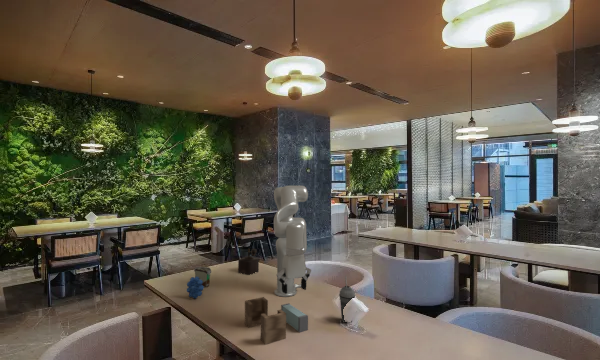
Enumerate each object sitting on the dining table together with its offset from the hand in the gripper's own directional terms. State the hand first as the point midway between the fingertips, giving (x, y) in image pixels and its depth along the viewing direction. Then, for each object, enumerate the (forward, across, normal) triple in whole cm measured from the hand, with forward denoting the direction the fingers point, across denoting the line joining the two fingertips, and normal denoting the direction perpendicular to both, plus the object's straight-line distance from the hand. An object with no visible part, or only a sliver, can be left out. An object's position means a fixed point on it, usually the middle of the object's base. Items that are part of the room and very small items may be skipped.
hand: (294, 290), depth 138 cm
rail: (+15, 0, -1) cm, 15 cm away
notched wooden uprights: (+15, +14, -2) cm, 20 cm away
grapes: (+14, +29, -55) cm, 63 cm away
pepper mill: (+13, -15, -84) cm, 86 cm away
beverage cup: (+15, -22, +9) cm, 28 cm away
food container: (+14, +19, -75) cm, 78 cm away
